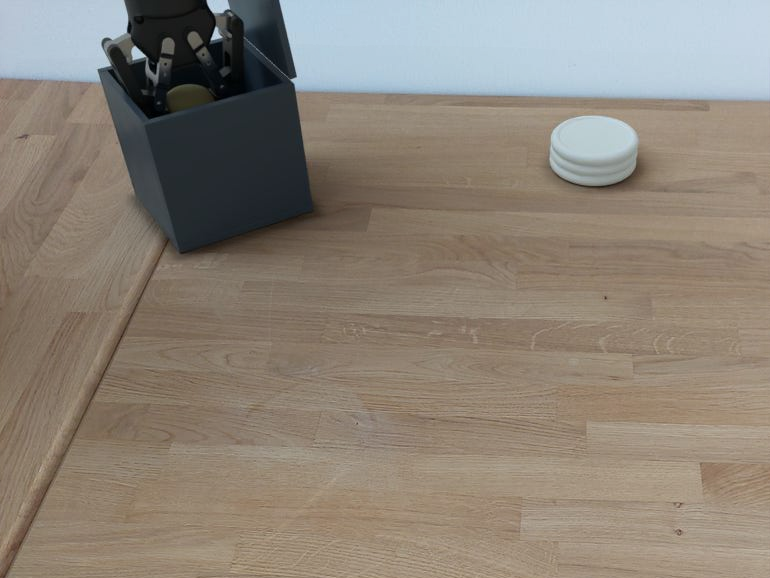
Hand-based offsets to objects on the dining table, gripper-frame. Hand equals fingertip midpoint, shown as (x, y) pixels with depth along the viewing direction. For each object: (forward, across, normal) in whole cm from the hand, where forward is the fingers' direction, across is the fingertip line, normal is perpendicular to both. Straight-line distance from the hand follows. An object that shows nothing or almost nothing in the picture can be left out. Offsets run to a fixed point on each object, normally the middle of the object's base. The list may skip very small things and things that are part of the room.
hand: (197, 135), depth 101 cm
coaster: (+8, +41, -15) cm, 44 cm away
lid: (-14, +8, 0) cm, 16 cm away
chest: (+8, +1, 0) cm, 8 cm away
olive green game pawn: (+7, 0, 0) cm, 7 cm away
